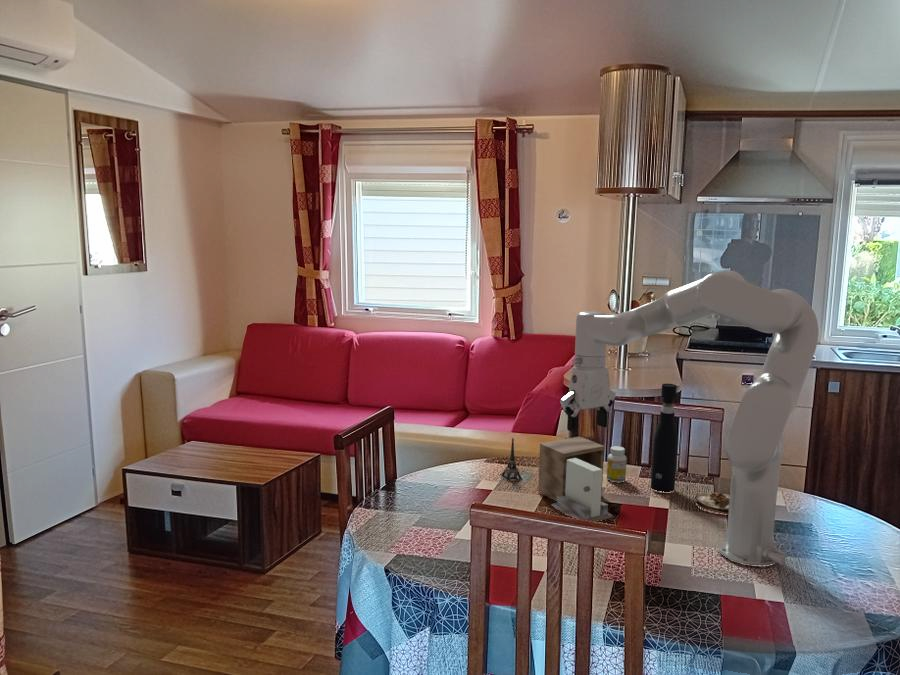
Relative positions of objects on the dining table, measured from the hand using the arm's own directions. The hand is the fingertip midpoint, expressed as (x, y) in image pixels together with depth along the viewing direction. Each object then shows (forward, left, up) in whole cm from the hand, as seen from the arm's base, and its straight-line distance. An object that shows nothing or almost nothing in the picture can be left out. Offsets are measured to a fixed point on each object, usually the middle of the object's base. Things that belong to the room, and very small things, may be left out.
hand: (587, 428), depth 180 cm
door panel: (0, 0, -21) cm, 21 cm away
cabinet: (+5, -4, -22) cm, 23 cm away
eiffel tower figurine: (+30, +1, -23) cm, 38 cm away
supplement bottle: (+14, -25, -23) cm, 36 cm away
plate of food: (-14, -35, -23) cm, 44 cm away
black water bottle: (+2, -31, -23) cm, 38 cm away
